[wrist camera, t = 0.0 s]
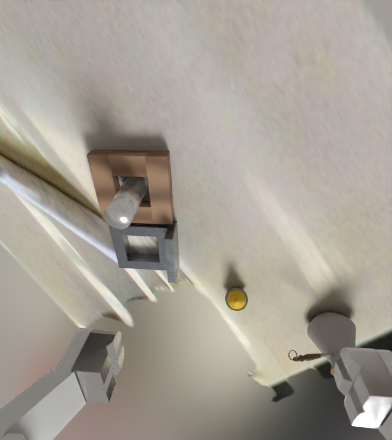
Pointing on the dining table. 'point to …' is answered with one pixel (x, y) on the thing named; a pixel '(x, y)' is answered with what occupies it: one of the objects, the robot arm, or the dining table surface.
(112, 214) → the steel cylinder
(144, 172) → the socket block
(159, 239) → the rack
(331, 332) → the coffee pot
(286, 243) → the dining table surface
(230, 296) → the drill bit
